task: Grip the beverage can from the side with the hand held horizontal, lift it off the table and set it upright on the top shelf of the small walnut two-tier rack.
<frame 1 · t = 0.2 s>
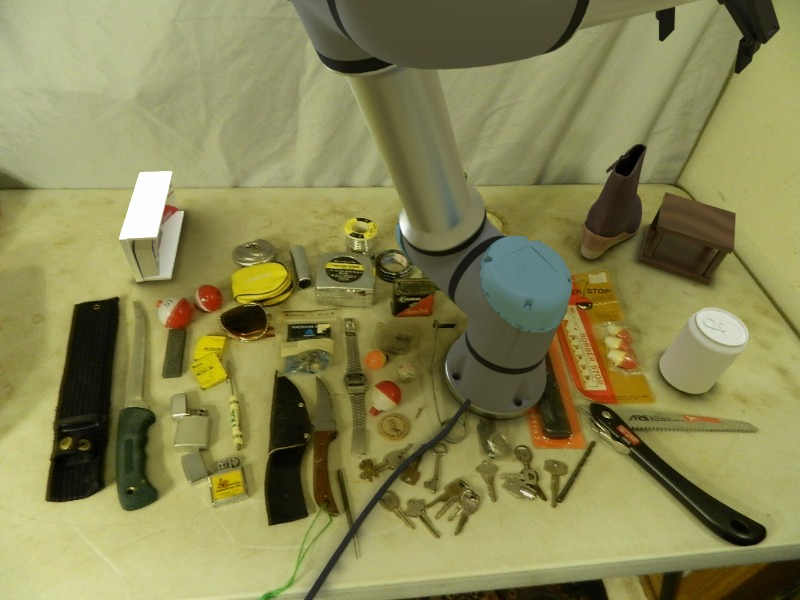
hand: (703, 50, 83), 36 cm above the table, tool tilted 35°, fingers open, 13 cm apart
boot: (608, 234, 108), on the table
beverage can: (683, 375, 84), on the table
rack: (676, 255, 105), on the table
cigarette display: (162, 243, 97), on the table
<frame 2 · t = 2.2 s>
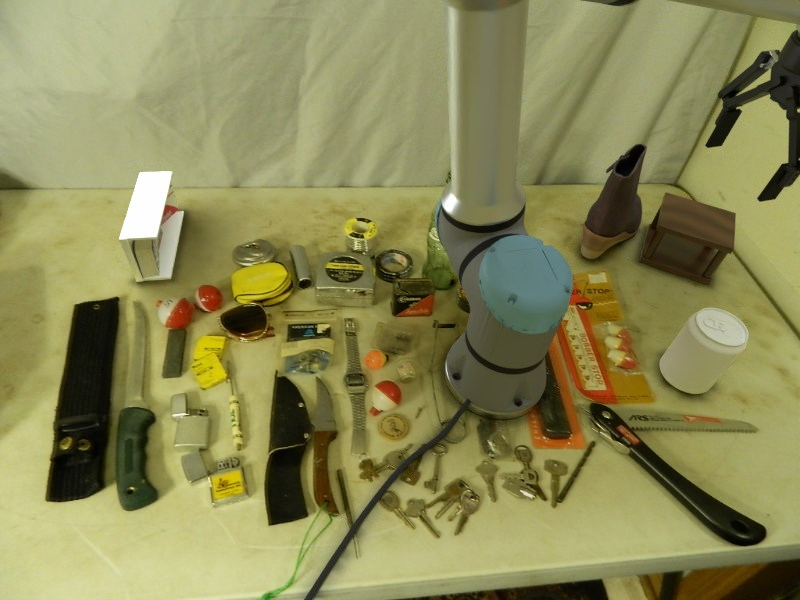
hand: (738, 171, 85), 23 cm above the table, tool pointing down, fingers open, 13 cm apart
nothing on the table moved.
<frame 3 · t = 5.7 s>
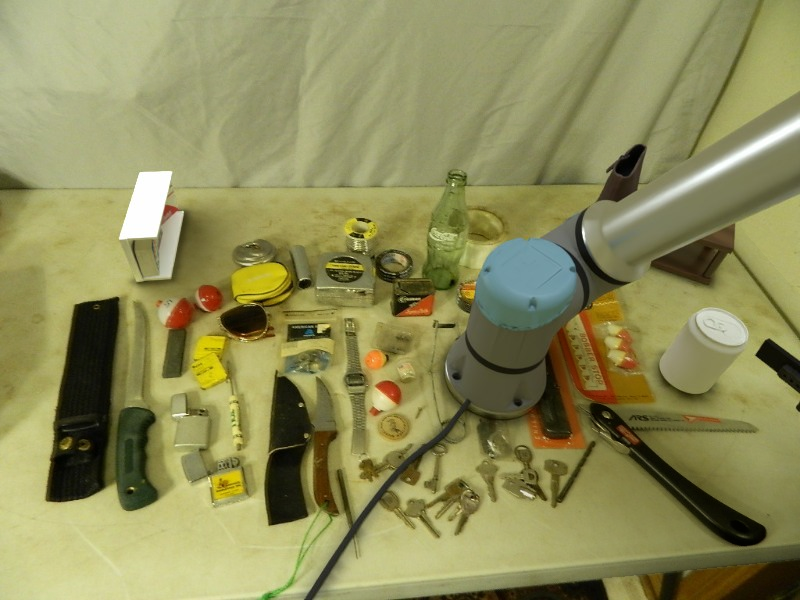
hand: (799, 329, 66), 19 cm above the table, tool horizontal, fingers open, 13 cm apart
nothing on the table moved.
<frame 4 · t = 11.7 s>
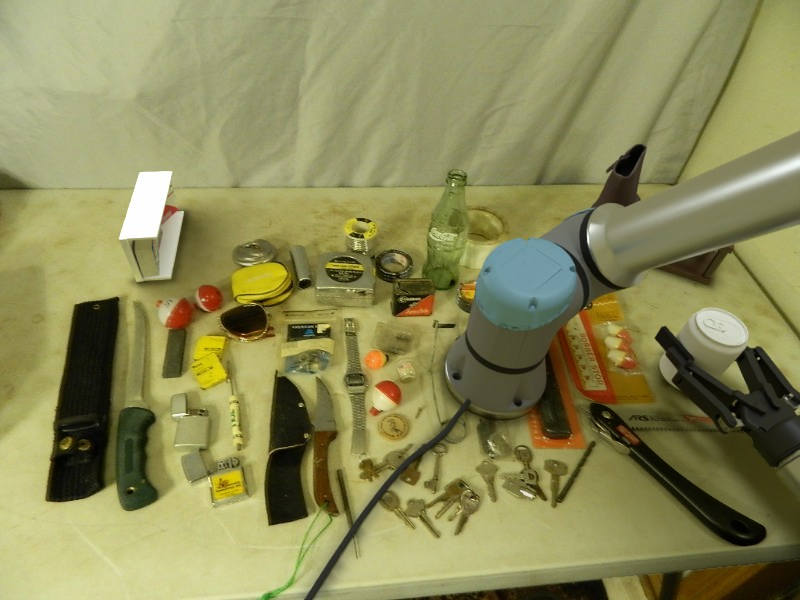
hand: (682, 326, 82), 7 cm above the table, tool horizontal, fingers closed on beverage can, 8 cm apart
beverage can: (683, 375, 84), on the table, touching gripper
everything else where it was.
when the fingers open (16 cm above the table, at t = 21.7 s): beverage can stays where it is, resting on rack.
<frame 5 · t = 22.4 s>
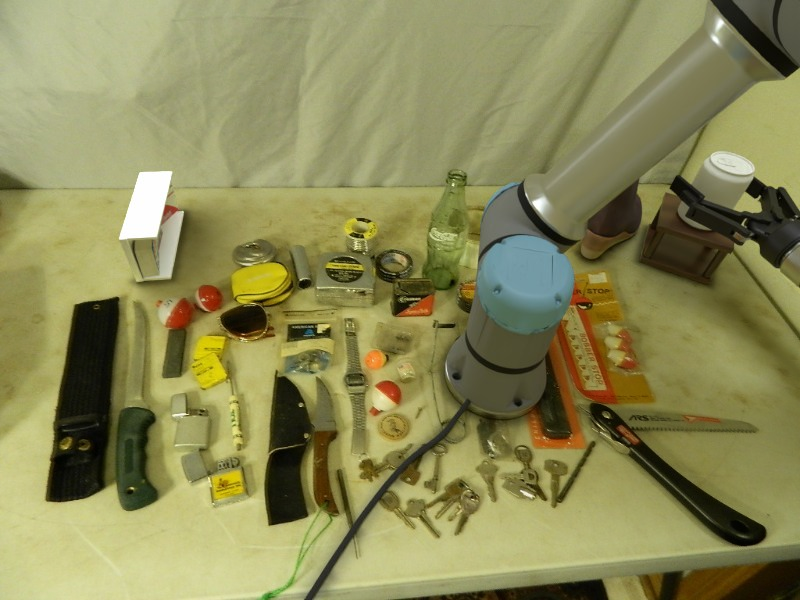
hand: (704, 176, 95), 16 cm above the table, tool horizontal, fingers open, 13 cm apart
beverage can: (697, 219, 98), point 9 cm above the table, touching rack
everything else where it was.
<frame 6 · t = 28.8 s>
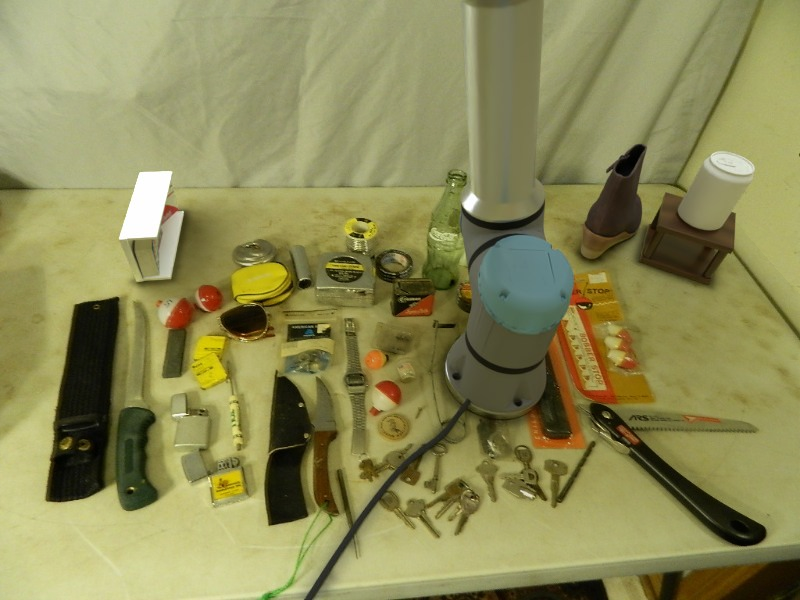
nothing on the table moved.
at the end: beverage can inside the target area on the rack (0.1 cm from its centre), point 8.8 cm above the rack's base; beverage can tilted 0°; the gripper is holding nothing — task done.
